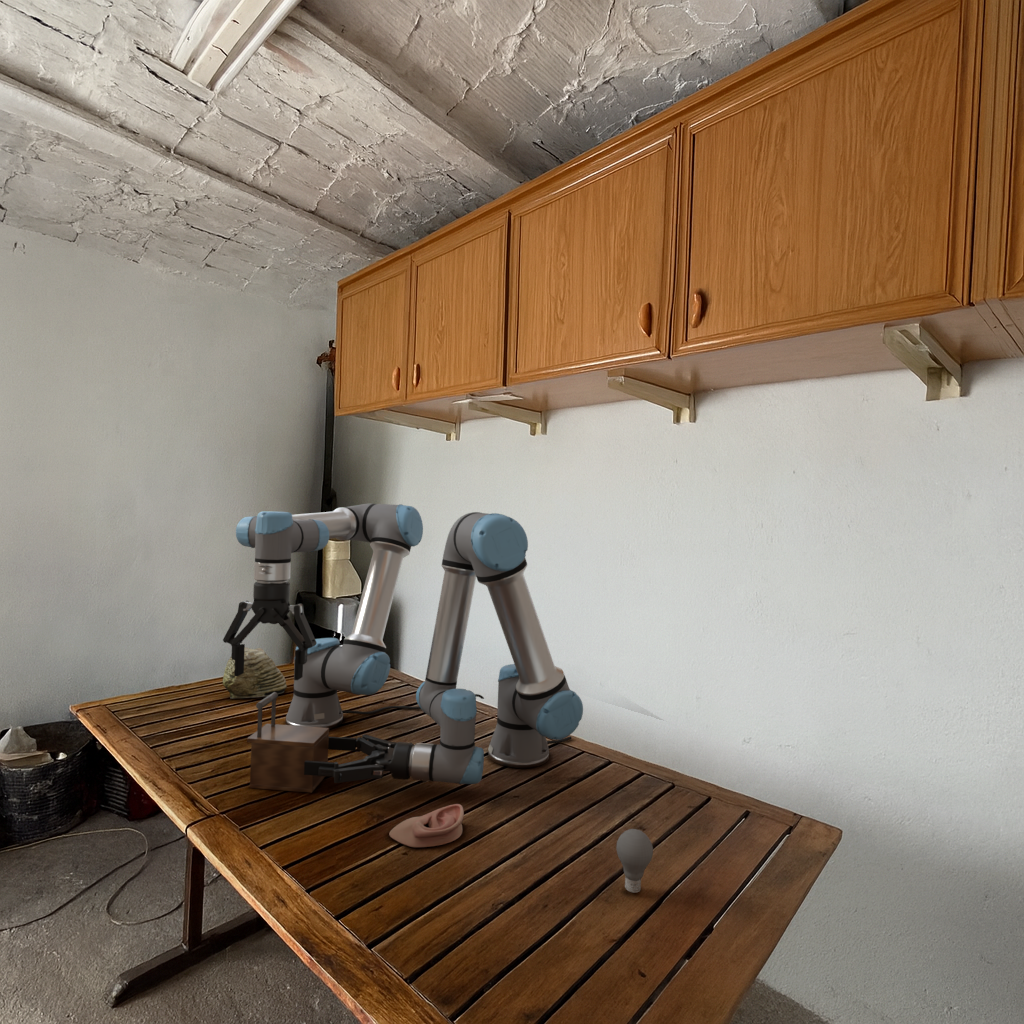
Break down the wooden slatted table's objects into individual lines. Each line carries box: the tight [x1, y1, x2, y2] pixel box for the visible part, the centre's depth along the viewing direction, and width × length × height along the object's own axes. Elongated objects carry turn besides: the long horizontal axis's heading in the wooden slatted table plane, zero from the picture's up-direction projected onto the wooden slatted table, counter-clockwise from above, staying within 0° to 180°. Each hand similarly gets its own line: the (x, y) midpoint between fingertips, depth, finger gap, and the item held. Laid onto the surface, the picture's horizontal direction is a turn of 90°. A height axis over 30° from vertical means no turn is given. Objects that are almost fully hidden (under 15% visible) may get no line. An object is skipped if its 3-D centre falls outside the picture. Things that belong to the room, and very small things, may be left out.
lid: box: [246, 692, 330, 747], centre depth 140 cm, size 15×9×9 cm, turn 86°
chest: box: [249, 731, 330, 794], centre depth 140 cm, size 14×9×10 cm, turn 86°
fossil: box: [222, 646, 288, 699], centre depth 198 cm, size 9×18×15 cm, turn 132°
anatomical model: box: [388, 803, 465, 848], centre depth 121 cm, size 13×4×12 cm
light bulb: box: [615, 828, 654, 894], centre depth 106 cm, size 6×6×10 cm
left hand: (268, 676), depth 140 cm, fingers open, 13 cm apart
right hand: (316, 754), depth 139 cm, fingers open, 13 cm apart
